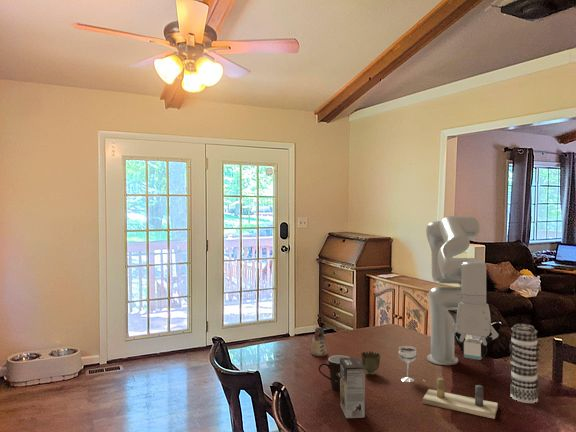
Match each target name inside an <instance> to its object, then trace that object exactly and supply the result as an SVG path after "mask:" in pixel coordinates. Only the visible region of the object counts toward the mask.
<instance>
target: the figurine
mask: <svg viewBox="0 0 576 432" xmlns="http://www.w3.org/2000/svg"><path fill="white" fill-rule="evenodd" d="M314 331H315V332H314V333H315V335H314V336H313V337H312V340H311V346H310V347H311V349H310V352H311V355H312V356H316V357H323V356H327V353H328V348H327V342H326V336H325V333H324V331H325V330H324V328H322V327H320V326H318V327H315V329H314Z"/></svg>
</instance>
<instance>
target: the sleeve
mask: <svg viewBox="0 0 576 432" xmlns="http://www.w3.org/2000/svg"><path fill="white" fill-rule="evenodd" d="M481 345H482V339H477V338H469V337H465V341H464V354H463V358H467V359H473V360H479V361H481V360H482V359H483V358H482V357H481Z"/></svg>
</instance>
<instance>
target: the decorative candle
mask: <svg viewBox="0 0 576 432" xmlns="http://www.w3.org/2000/svg"><path fill="white" fill-rule="evenodd" d="M510 329H511V331H512V332H511V337H510V338H511V339H510V340H509V343H510V344H509V345H508V347H509V354H510V355H509V359H510V360H509V362H510V364H511V372H510V374H511V375H510V376H509V377H510V381H509V382H510V383H511V384H510V385H509V388H510V389H509V391H510V395H509V396H510V398H511V397H512V398H511V399H512V400H514V401H516V400H517V402H520V403H524V404H535V402H536V403H537V402H539V398H538V397H539V389H538V387H539V384H538V383H539V379H538V374H537V371H538V370H537V369H538V367H539V364H538V362H539V361H540V359H539V358H538V357H540V354H539V353H537V352H539V351H540V348H539V347H540V346H541V345H540V343H538V338H537V337H538V336H537V335H538V332H539V331H538V330H536V329H535V326H533V325H532V324H531V325H530V324H527V323H516V324H514V325H513V326H512V327H510Z"/></svg>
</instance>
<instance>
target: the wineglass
mask: <svg viewBox="0 0 576 432" xmlns="http://www.w3.org/2000/svg"><path fill="white" fill-rule="evenodd" d="M417 353H418V352H417V347H415V346H413V345H412V346H411V345H401V346H398V358H400V359H401V361H403V362H405V363H406V376H403V377H401V378H400V380H401V381H402V382H405V383H413V382H415V379H414V378H413V377H409V368H410V367H409V364H410V363H411V362H412V363H413V362H414V361H415V360H416V358H417V356H418V354H417Z"/></svg>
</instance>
